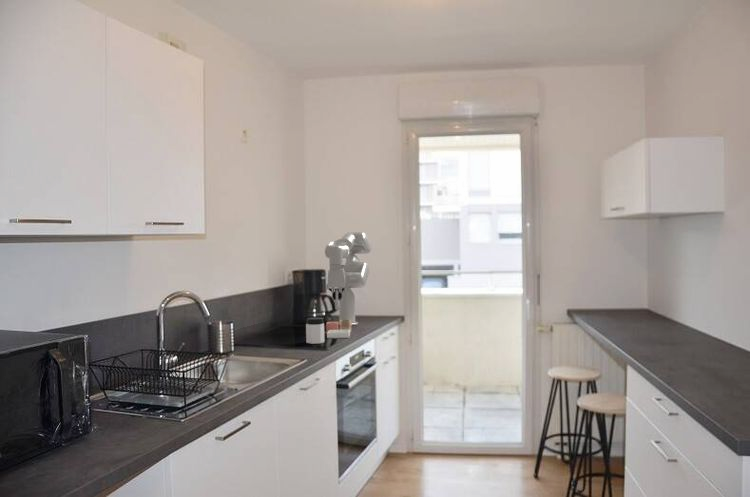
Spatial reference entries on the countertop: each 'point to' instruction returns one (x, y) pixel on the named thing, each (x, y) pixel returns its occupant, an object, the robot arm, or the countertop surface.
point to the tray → (338, 334)
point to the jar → (315, 330)
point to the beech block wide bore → (345, 325)
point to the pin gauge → (337, 299)
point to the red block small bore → (331, 326)
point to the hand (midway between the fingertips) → (337, 299)
